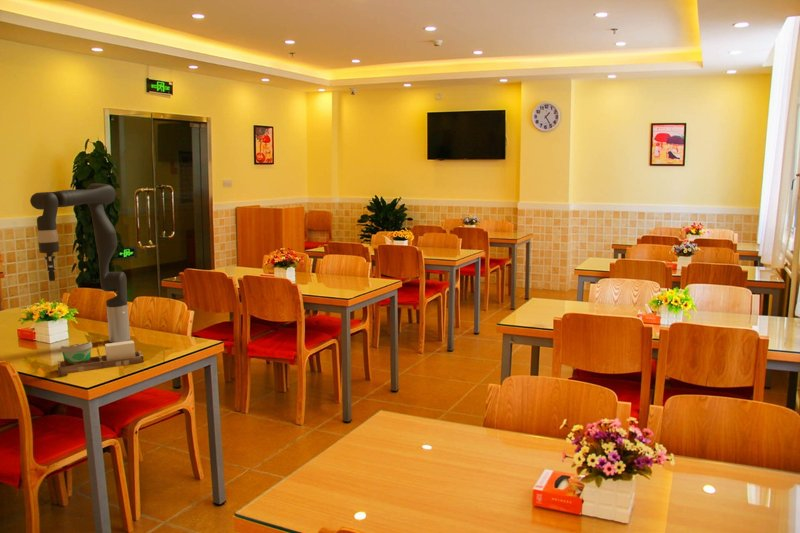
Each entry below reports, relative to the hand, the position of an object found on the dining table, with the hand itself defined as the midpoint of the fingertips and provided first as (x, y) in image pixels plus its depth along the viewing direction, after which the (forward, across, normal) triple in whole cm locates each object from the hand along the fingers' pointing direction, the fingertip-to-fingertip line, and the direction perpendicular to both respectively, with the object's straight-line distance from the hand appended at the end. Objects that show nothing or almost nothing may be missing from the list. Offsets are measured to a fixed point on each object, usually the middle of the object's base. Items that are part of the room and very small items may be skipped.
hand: (52, 279), depth 286 cm
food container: (+35, -17, -7) cm, 40 cm away
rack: (+36, -16, -15) cm, 42 cm away
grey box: (+35, -16, -23) cm, 45 cm away
